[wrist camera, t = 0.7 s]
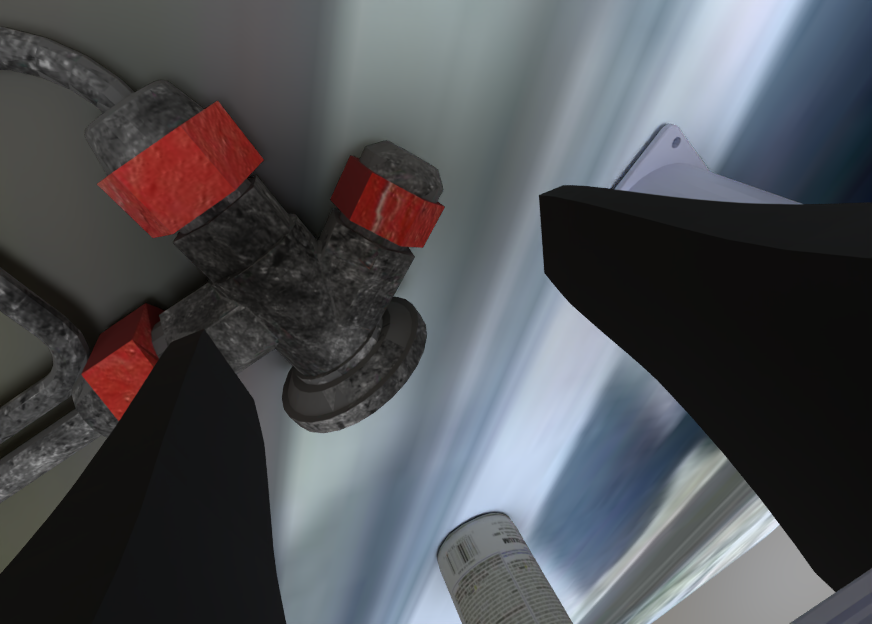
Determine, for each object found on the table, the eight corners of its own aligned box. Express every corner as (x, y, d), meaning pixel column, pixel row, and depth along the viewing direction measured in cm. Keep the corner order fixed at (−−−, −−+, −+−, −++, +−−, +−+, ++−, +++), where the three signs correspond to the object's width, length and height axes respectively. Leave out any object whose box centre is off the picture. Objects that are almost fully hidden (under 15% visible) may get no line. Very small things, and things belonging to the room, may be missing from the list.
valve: (246, -141, 13) (471, 254, 21) (-464, 351, 14) (14, 559, 22) (221, -280, 8) (535, 318, 16) (-936, 531, 9) (-74, 720, 16)
